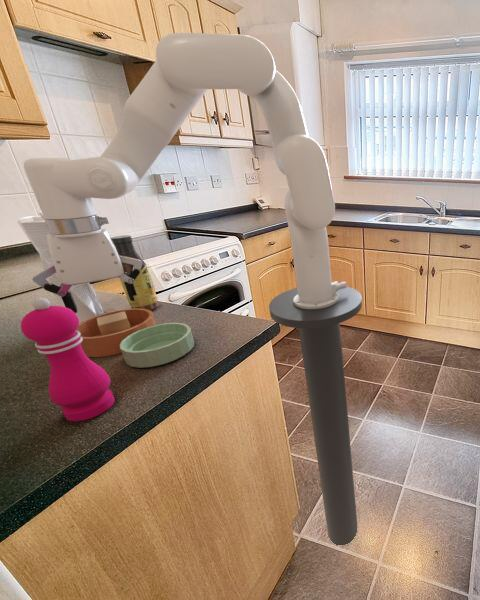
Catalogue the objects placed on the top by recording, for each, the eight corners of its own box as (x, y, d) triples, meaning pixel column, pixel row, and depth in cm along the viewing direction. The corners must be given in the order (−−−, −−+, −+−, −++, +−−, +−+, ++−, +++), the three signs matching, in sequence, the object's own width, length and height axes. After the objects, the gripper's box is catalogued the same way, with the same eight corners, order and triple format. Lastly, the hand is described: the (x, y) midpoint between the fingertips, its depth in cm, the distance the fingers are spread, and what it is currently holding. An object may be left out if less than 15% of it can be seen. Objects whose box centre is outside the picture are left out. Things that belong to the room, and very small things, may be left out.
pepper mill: (53, 415, 54) (-8, 303, 46) (104, 389, 60) (58, 286, 52) (75, 430, 52) (14, 313, 43) (127, 401, 57) (82, 293, 49)
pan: (152, 319, 86) (147, 303, 84) (163, 340, 76) (157, 322, 74) (77, 338, 77) (69, 321, 75) (79, 365, 67) (70, 346, 65)
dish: (187, 332, 79) (183, 317, 78) (201, 353, 71) (196, 337, 69) (123, 351, 72) (116, 335, 70) (130, 377, 64) (123, 359, 62)
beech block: (131, 330, 80) (124, 311, 78) (134, 337, 76) (127, 318, 74) (104, 337, 77) (96, 317, 75) (106, 345, 73) (98, 325, 71)
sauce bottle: (161, 309, 91) (138, 236, 83) (133, 316, 88) (106, 241, 80) (157, 301, 96) (134, 232, 88) (130, 308, 92) (104, 236, 84)
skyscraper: (113, 321, 85) (69, 207, 74) (71, 333, 79) (16, 212, 68) (103, 312, 90) (59, 204, 78) (63, 323, 84) (9, 209, 72)
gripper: (127, 218, 74) (149, 290, 81) (13, 228, 63) (50, 310, 70) (131, 223, 69) (155, 299, 76) (8, 235, 58) (49, 323, 65)
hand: (104, 305), depth 73 cm, fingers open, 9 cm apart
